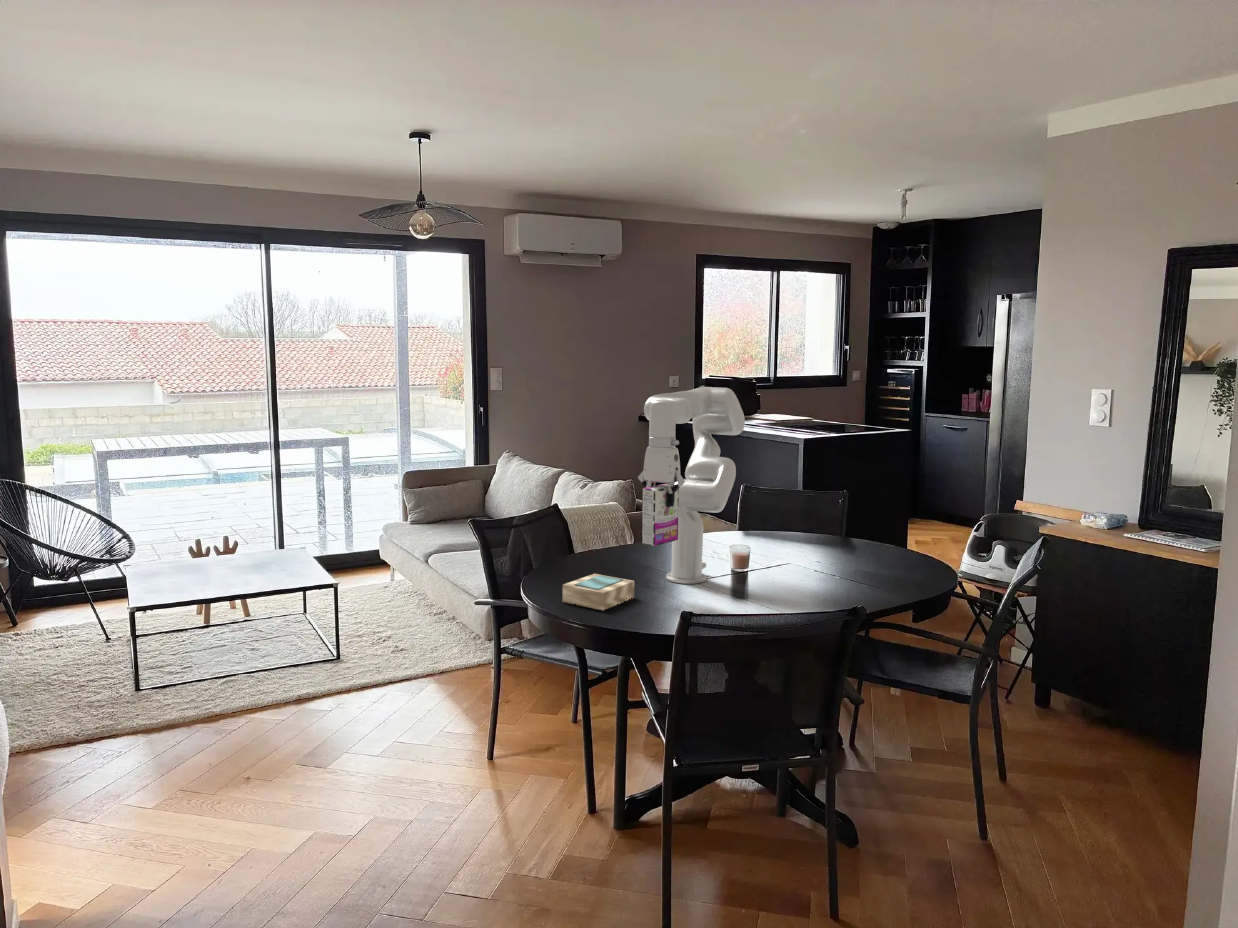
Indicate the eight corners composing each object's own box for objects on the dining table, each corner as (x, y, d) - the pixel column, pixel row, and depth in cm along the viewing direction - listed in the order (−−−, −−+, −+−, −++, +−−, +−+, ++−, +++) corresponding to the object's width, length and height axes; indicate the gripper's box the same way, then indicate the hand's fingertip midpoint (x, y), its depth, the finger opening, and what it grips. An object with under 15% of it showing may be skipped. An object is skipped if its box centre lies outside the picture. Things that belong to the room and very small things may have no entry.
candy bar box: (665, 537, 273) (666, 483, 271) (678, 540, 270) (680, 485, 268) (640, 543, 265) (641, 487, 263) (653, 546, 262) (655, 489, 259)
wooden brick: (594, 589, 275) (594, 572, 274) (634, 597, 268) (634, 579, 267) (562, 601, 262) (562, 583, 261) (603, 610, 254) (603, 591, 254)
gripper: (694, 444, 262) (693, 506, 264) (643, 439, 271) (641, 500, 274) (681, 446, 256) (680, 510, 258) (629, 441, 265) (628, 503, 267)
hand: (660, 504), depth 266 cm, fingers closed on candy bar box, 5 cm apart
